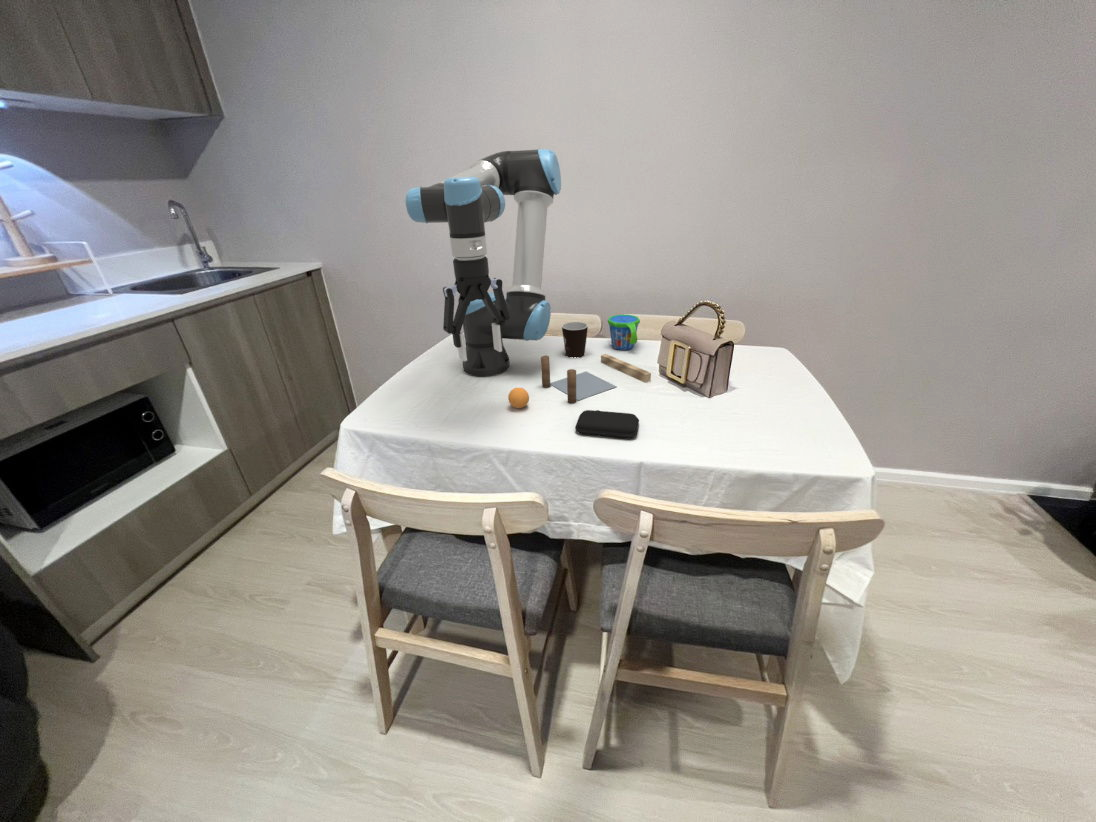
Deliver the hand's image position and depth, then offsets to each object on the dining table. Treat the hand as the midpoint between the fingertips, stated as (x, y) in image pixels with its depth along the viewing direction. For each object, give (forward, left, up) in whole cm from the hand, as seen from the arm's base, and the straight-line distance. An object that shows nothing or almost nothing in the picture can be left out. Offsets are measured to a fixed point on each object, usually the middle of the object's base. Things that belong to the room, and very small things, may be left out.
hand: (481, 354), depth 110 cm
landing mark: (0, +31, -17) cm, 36 cm away
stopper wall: (0, +47, -17) cm, 51 cm away
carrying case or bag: (+22, +21, -18) cm, 36 cm away
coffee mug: (-22, +45, -18) cm, 54 cm away
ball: (0, +9, -15) cm, 17 cm away
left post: (-6, +22, -17) cm, 29 cm away
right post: (+6, +22, -17) cm, 29 cm away
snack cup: (-16, +61, -18) cm, 66 cm away
